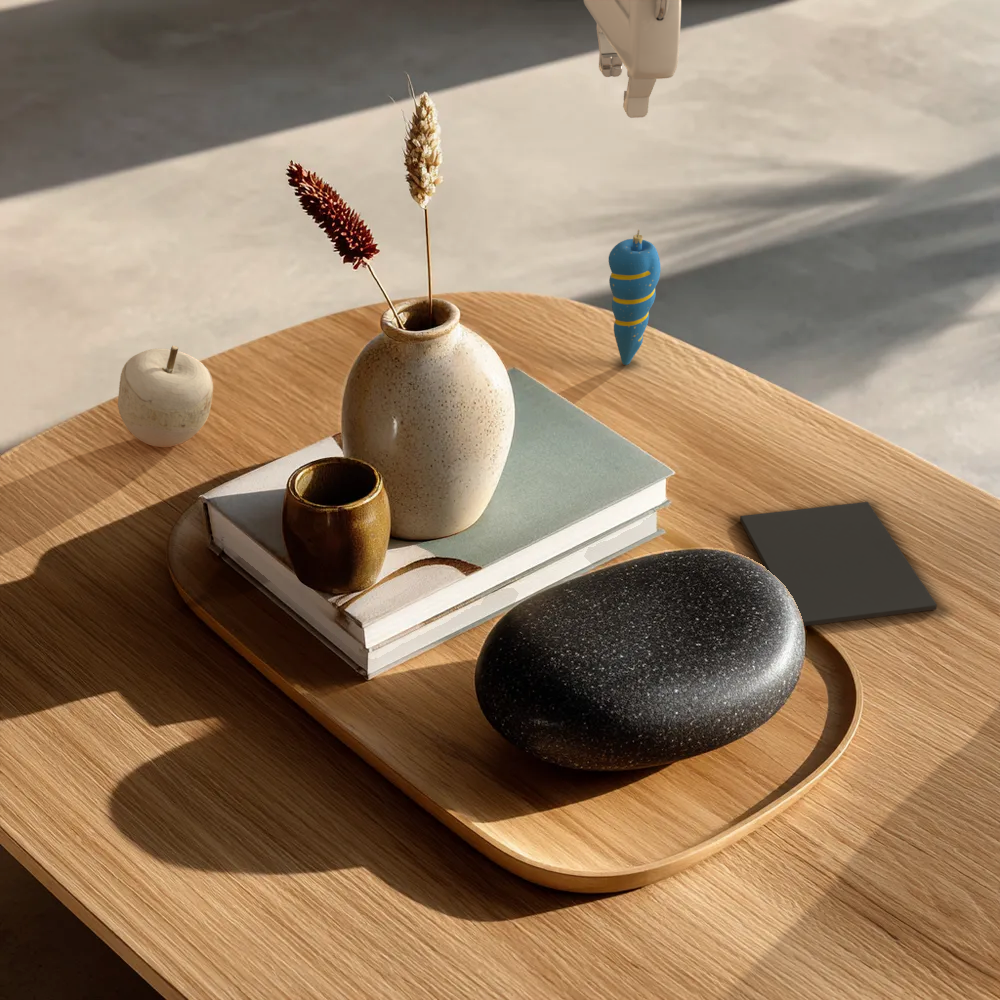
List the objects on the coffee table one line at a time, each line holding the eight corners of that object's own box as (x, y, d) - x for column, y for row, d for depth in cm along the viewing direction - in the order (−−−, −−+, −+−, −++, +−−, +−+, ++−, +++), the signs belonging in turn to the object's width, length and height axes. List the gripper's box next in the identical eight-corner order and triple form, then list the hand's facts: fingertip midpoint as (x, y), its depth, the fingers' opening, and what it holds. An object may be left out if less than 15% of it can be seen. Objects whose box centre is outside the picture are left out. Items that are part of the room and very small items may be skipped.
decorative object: (108, 435, 126) (90, 344, 120) (189, 402, 131) (175, 313, 125) (155, 478, 121) (138, 385, 115) (237, 442, 126) (226, 351, 120)
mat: (866, 505, 120) (867, 501, 119) (936, 609, 109) (937, 605, 108) (739, 520, 118) (740, 515, 117) (797, 627, 107) (798, 622, 107)
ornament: (596, 372, 137) (606, 239, 127) (605, 347, 141) (615, 216, 131) (646, 379, 136) (660, 245, 127) (654, 354, 140) (667, 222, 131)
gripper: (709, -40, 98) (689, 139, 107) (642, -109, 114) (630, 52, 123) (625, -38, 98) (613, 143, 106) (570, -107, 114) (563, 54, 122)
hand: (622, 93), depth 115 cm, fingers open, 8 cm apart
